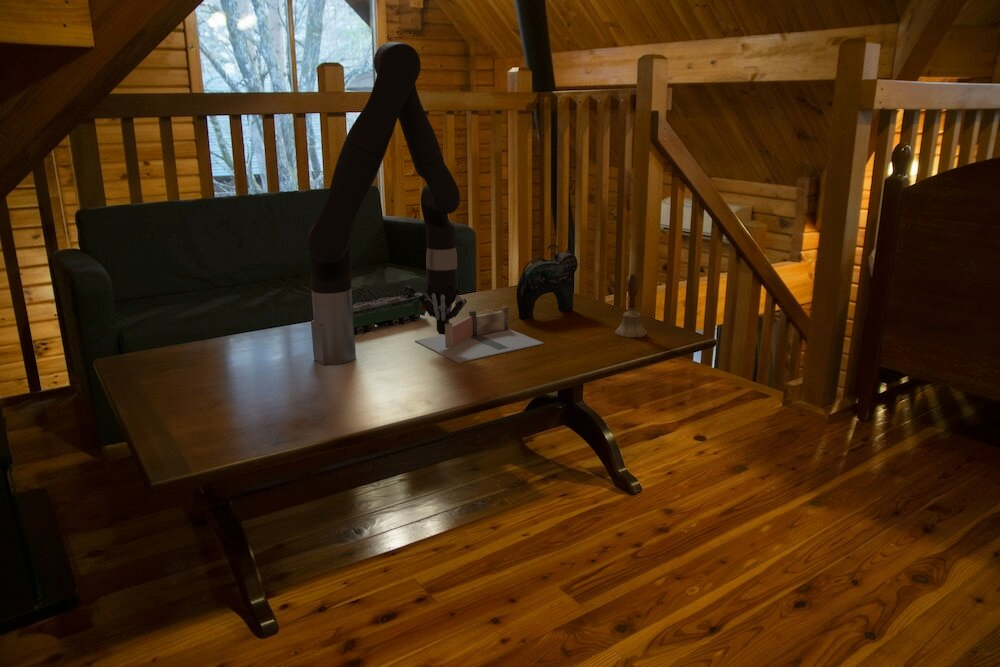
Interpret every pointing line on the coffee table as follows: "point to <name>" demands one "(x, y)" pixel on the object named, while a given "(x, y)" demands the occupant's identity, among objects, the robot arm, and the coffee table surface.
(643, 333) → the hand bell
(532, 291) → the black animal figurine
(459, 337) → the panel
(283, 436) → the coffee table surface
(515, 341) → the card
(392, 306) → the toy train
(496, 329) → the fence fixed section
